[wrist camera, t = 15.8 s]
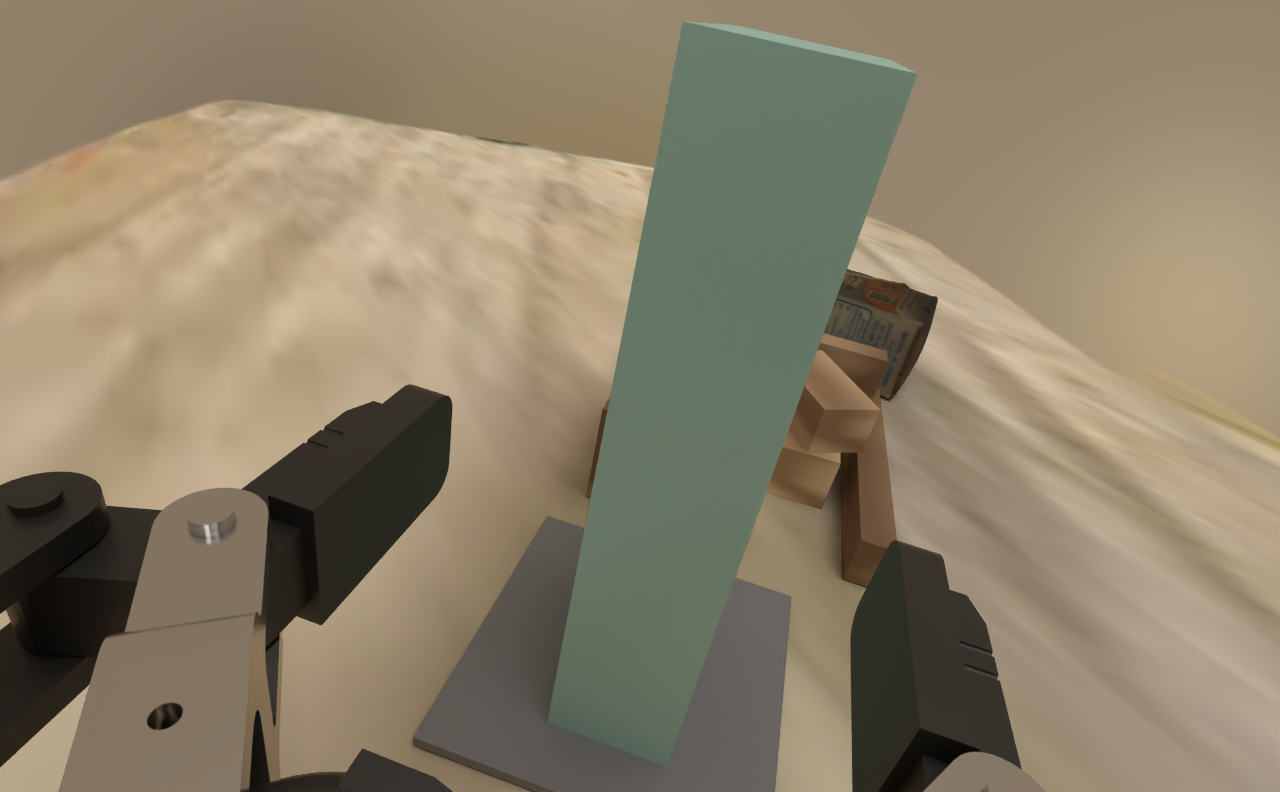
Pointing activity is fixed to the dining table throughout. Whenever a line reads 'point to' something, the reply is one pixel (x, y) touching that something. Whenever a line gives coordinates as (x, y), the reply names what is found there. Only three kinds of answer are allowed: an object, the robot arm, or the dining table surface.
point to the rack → (851, 468)
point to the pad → (582, 767)
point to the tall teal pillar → (714, 356)
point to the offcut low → (803, 473)
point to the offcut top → (832, 411)
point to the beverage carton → (883, 322)
